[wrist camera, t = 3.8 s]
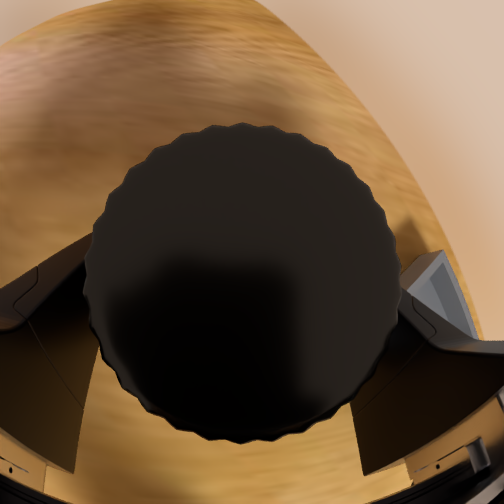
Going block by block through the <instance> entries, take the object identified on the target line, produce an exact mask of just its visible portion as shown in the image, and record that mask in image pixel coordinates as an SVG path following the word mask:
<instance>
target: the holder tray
mask: <svg viewBox="0 0 504 504" xmlns="http://www.w3.org/2000/svg"><path fill="white" fill-rule="evenodd" d="M399 281H400V286H401V287H402V288H403V289H405V290H406V291H407V292H409V293H410V294H411V296H414V297H415V298H417V299H418V300H419V301H421V302H422V303H423V304H425V305H426V306H427V307H429V308H430V309H431V310H433V311H434V312H436V313H437V314H439V315H440V316H441V317H443V318H444V319H446V320H447V321H448V322H450V323H451V324H453V325H454V326H456V327H457V328H458V329H460V330H461V331H463V332H464V333H465V334H467V335H468V336H470V337H472V338H474V339H477V340H479V338H478V335H477V332H476V329H475V326H474V323H473V320H472V317H471V314H470V311H469V309H468V306H467V303H466V301H465V298H464V295H463V293H462V290H461V288H460V286H459V283H458V281H457V278H456V276H455V274H454V272H453V269H452V267H451V265H450V263H449V260H448V258H447V256H446V254H445V252H444V250H439V251H435V252H431V253H427V254H423V255H420V256H419V257H418V258H417V259H416V260H415V261H414V262H413V263H412V264H411V265H410V266H409V267H408V268H407V269H406V270H405V271H404V272H403V273H402V274H401V275H400V279H399Z"/></svg>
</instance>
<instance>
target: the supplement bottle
mask: <svg viewBox="0 0 504 504" xmlns="http://www.w3.org/2000/svg"><path fill="white" fill-rule="evenodd" d="M395 247H396V242H395V236H394V235H393V233H392V231H391V230H390V228H389V227H388V225H387V220H386V216H385V212H384V210H383V209H382V208H381V206H380V205H379V204H378V203H377V202H376V201H375V200H374V197H373V195H372V192H371V190H370V187H369V186H368V185H367V184H365V183H364V182H363V181H362V180H360V179H359V178H358V177H357V176H356V174H355V173H354V171H353V169H352V168H351V166H350V165H349V164H347V163H345V162H343V161H341V160H339V159H337V158H336V157H335V156H334V155H333V153H332V152H331V151H330V150H329V149H328V148H327V147H324V146H321V145H317V144H314V143H312V142H311V141H310V140H308V139H307V138H306V137H304V136H303V135H301V134H297V133H286V132H284V131H282V130H280V129H279V128H277V127H274V126H262V127H256V126H252V125H250V124H247V123H239V124H235V125H232V126H229V127H225V126H218V125H212V126H210V127H207V128H205V129H204V130H202V131H200V132H195V133H185V134H182V135H180V136H179V137H178V138H176V139H175V140H174V141H173V142H172V143H171V144H168V145H165V146H160V147H157V148H155V149H154V150H153V151H152V152H151V153H150V154H149V156H148V157H147V158H146V160H145V161H144V162H141V163H139V164H137V165H136V166H134V167H132V168H130V169H129V171H128V173H127V174H126V176H125V178H124V181H123V183H122V184H121V185H120V186H119V187H118V188H116V189H115V190H113V191H112V192H111V193H110V194H109V196H108V199H107V202H106V206H105V211H104V212H103V214H102V215H101V216H100V217H99V218H98V219H97V220H96V222H95V223H94V225H93V232H92V244H91V246H90V247H89V249H88V250H87V253H86V255H85V257H84V260H85V268H86V273H87V277H86V280H85V283H84V288H83V295H84V298H85V301H86V302H87V304H88V307H89V328H90V330H91V331H92V333H93V335H94V336H95V337H96V338H97V339H98V341H99V345H100V352H101V356H102V360H103V361H104V362H105V363H106V364H107V365H108V366H109V367H111V368H112V369H113V370H114V371H115V373H116V376H117V378H118V381H119V383H120V385H121V387H122V389H124V390H125V391H127V392H128V393H130V394H131V395H133V396H135V397H136V398H138V400H139V402H140V403H141V405H142V406H143V407H144V409H145V410H146V411H147V412H148V413H151V414H153V415H156V416H159V417H162V418H164V419H165V420H166V421H167V422H168V423H169V424H170V425H171V426H172V427H174V428H175V429H176V430H181V431H187V432H194V433H196V434H197V435H199V436H200V437H202V438H204V439H206V440H208V441H213V440H228V441H231V442H233V443H237V444H245V443H249V442H252V441H256V440H260V441H268V442H274V441H276V440H278V439H280V438H282V437H283V436H286V435H288V434H299V433H304V432H305V431H307V430H308V429H309V428H311V427H312V426H313V425H314V424H316V423H318V422H322V421H325V420H328V419H331V418H332V417H333V416H334V414H335V413H336V412H337V411H338V409H339V408H340V407H341V406H343V405H345V404H347V403H349V402H351V401H352V400H354V399H355V397H356V396H357V394H358V393H359V390H360V389H361V387H362V386H363V385H364V384H365V383H366V382H368V381H369V380H370V379H371V378H372V377H373V376H374V374H375V372H376V369H377V365H378V363H379V361H380V360H381V359H382V358H383V357H384V355H385V354H386V353H387V351H388V348H389V344H390V336H391V334H392V332H393V331H394V329H395V327H396V325H397V323H398V313H397V308H398V305H399V303H400V300H401V297H402V290H401V286H400V281H399V279H400V273H401V263H400V260H399V258H398V256H397V253H396V248H395Z"/></svg>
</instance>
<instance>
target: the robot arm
mask: <svg viewBox="0 0 504 504" xmlns="http://www.w3.org/2000/svg"><path fill="white" fill-rule="evenodd" d="M91 244H92V233H90V234H88V235H86V236H85V237H83V238H81V239H79V240H78V241H76V242H74V243H73V244H71V245H69V246H67V247H66V248H64V249H63V250H61V251H59V252H58V253H56V254H54V255H53V256H51V257H50V258H48V259H46V260H45V261H43V262H42V263H40V264H39V265H38V267H37V266H35V267H34V268H32V269H31V270H29V271H28V272H26V273H25V274H23V275H22V276H20V277H19V278H17V279H15V280H14V281H12V282H10V283H9V284H7V285H6V286H4V287H2V288H1V289H0V504H72V503H69V502H66V501H64V500H61V499H58V498H55V497H53V496H50V495H48V494H45V493H43V492H44V483H45V475H46V467H47V465H48V466H50V467H53V468H56V469H59V470H62V471H65V472H68V473H71V474H74V470H75V462H76V454H77V447H78V441H79V434H80V428H81V423H82V417H83V412H84V410H83V409H84V406H85V401H86V397H87V392H88V388H89V383H90V379H91V375H92V371H93V367H94V363H95V359H96V355H97V352H98V348H99V341H98V339H97V338H96V337H95V336H94V335H93V333H92V331H91V330H90V328H89V307H88V304H87V302H86V301H85V298H84V295H83V288H84V283H85V280H86V277H87V273H86V268H85V260H84V257H85V255H86V253H87V250H88V249H89V247H90V246H91ZM401 290H402V297H401V300H400V303H399V305H398V308H397V313H398V323H397V325H396V327H395V329H394V331H393V332H392V334H391V336H390V344H389V348H388V351H387V353H386V354H385V355H384V357H383V358H382V359H381V360H380V361H379V363H378V365H377V369H376V372H375V374H374V376H373V377H372V378H371V379H370V380H369V381H368V382H366V383H365V384H364V385H363V386H362V387H361V389H360V390H359V393H358V394H357V396H356V397H355V399H354V400H352V401H351V402H350V407H351V412H352V416H353V422H354V427H355V432H356V437H357V443H358V448H359V454H360V459H361V465H362V471H363V475H364V476H367V475H371V474H374V473H377V472H380V471H384V470H387V469H390V468H392V467H395V466H398V465H401V464H403V463H405V464H406V468H407V471H408V474H409V478H410V480H412V479H413V482H412V484H411V486H410V487H408V488H406V489H403V490H401V491H398V492H396V493H393V494H391V495H388V496H385V497H383V498H380V499H377V500H374V501H371V502H368V503H365V504H504V341H482V340H477V339H474V338H472V337H470V336H468V335H467V334H465V333H464V332H463V331H461V330H460V329H458V328H457V327H456V326H454V325H453V324H451V323H450V322H448V321H447V320H446V319H444V318H443V317H441V316H440V315H439V314H437V313H436V312H434V311H433V310H431V309H430V308H429V307H427V306H426V305H425V304H423V303H422V302H421V301H419V300H418V299H417V298H415V297H414V296H411V294H410V293H409V292H407V291H406V290H405V289H403V288H402V287H401Z"/></svg>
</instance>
